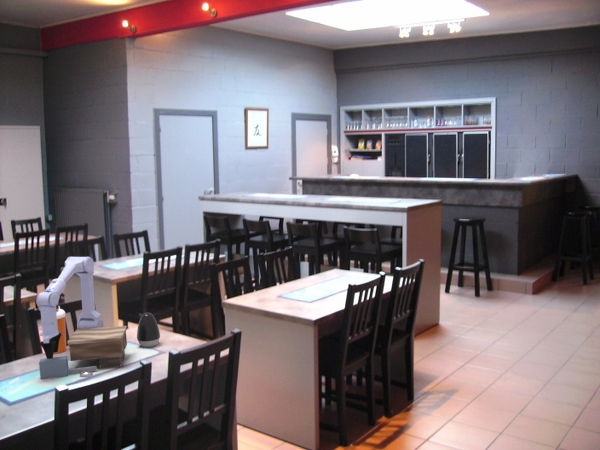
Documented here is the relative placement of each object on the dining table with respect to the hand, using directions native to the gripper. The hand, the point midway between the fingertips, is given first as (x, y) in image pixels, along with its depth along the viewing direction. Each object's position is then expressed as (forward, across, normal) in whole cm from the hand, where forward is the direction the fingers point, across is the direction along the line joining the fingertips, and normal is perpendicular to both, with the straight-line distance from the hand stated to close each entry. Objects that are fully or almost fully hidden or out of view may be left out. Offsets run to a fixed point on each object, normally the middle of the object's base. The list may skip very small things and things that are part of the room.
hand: (52, 355), depth 247 cm
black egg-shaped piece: (+9, -30, +34) cm, 46 cm away
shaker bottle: (+9, -32, -6) cm, 34 cm away
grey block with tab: (+8, 0, +6) cm, 10 cm away
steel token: (+9, +2, +13) cm, 16 cm away
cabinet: (+8, -11, +16) cm, 21 cm away
